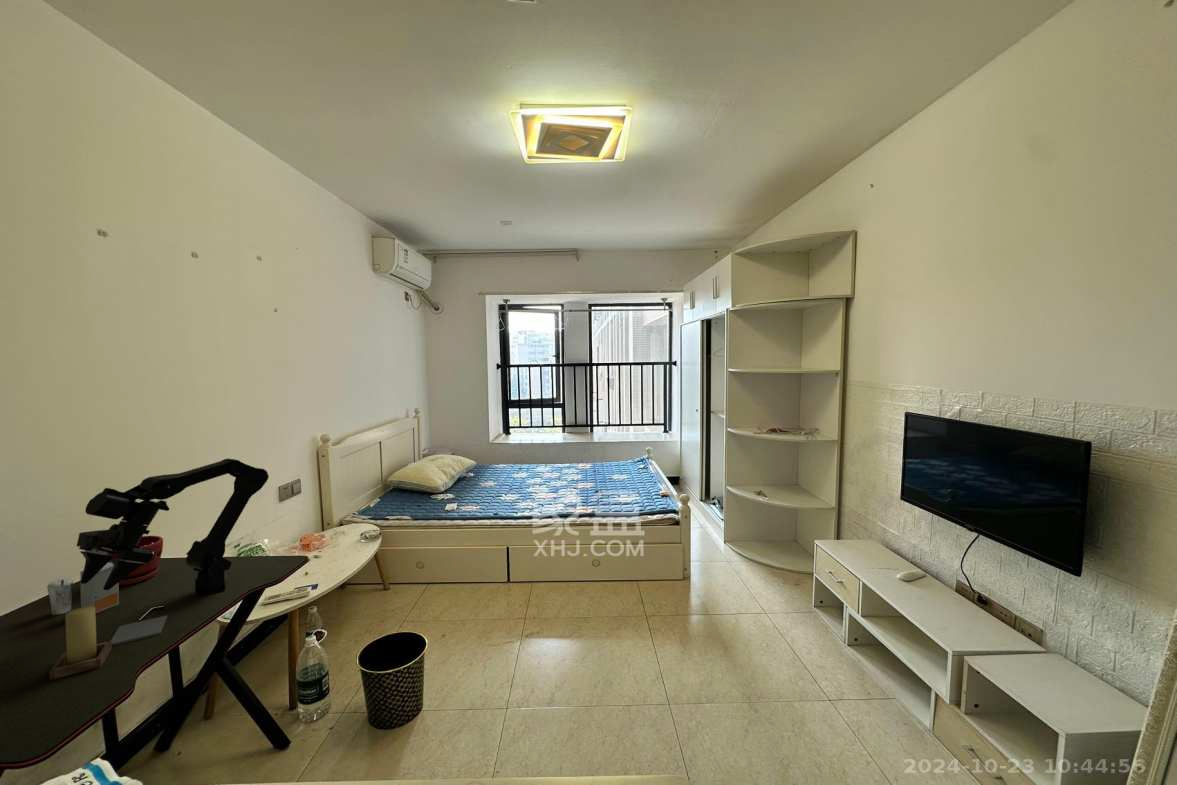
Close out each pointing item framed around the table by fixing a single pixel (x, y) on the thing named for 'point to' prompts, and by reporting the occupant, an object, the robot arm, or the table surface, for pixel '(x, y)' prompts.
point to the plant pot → (148, 568)
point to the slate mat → (138, 630)
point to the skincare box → (99, 591)
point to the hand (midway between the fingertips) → (94, 586)
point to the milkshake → (60, 595)
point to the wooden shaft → (81, 635)
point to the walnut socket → (63, 670)
